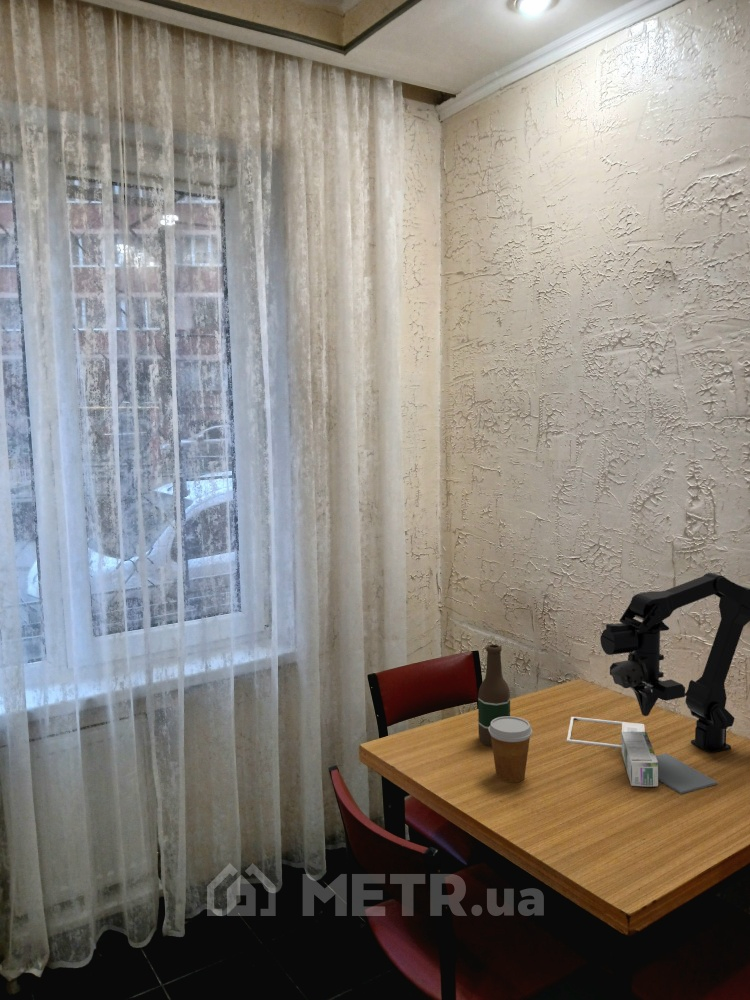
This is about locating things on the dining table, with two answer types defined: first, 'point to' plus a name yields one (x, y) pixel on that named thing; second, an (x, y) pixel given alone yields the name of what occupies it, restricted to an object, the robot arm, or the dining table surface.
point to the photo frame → (625, 725)
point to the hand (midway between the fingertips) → (645, 715)
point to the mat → (681, 775)
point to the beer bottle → (492, 694)
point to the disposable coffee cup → (510, 747)
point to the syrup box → (639, 759)
